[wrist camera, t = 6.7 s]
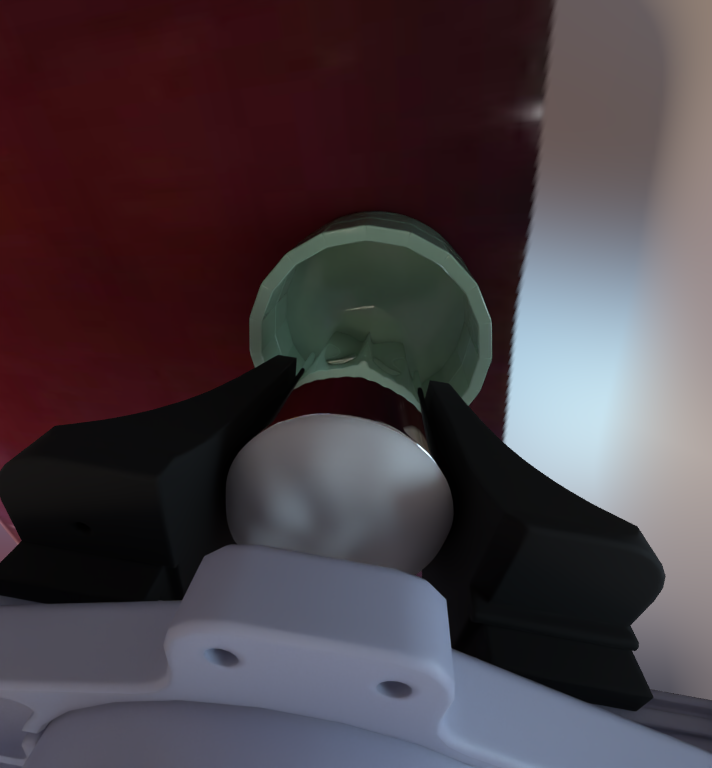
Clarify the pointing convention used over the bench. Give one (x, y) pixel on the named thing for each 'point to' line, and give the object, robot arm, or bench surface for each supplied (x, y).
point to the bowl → (378, 296)
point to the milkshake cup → (347, 455)
